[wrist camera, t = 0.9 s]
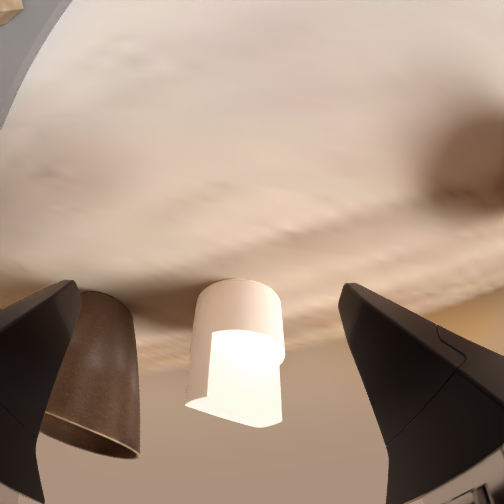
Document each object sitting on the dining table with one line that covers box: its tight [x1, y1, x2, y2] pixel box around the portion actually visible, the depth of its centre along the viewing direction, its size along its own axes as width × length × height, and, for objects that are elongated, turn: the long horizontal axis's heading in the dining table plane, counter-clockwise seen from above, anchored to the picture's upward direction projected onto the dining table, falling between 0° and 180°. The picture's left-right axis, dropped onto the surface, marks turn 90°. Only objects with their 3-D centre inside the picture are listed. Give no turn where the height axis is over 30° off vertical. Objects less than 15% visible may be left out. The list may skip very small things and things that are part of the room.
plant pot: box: [39, 292, 140, 459], centre depth 28 cm, size 15×15×16 cm
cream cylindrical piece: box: [185, 278, 285, 428], centre depth 28 cm, size 9×9×12 cm
